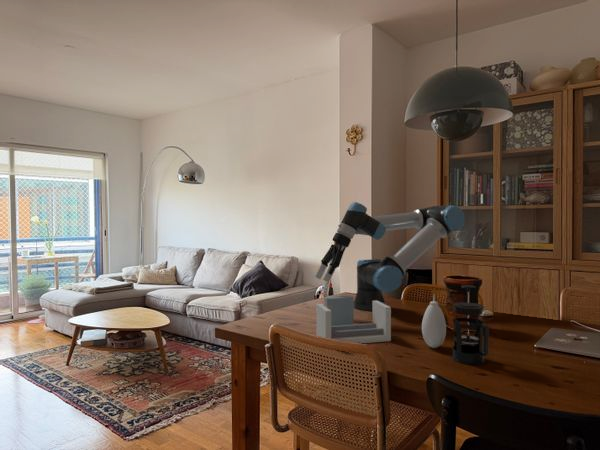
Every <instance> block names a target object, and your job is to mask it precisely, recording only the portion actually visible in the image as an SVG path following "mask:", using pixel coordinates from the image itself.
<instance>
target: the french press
mask: <svg viewBox="0 0 600 450" xmlns="http://www.w3.org/2000/svg"><path fill="white" fill-rule="evenodd" d="M461 287H463V288H467V292H468V303H466V302H461V303H454V304H453V306H454V307H455V308H454V309H455V312H456V313H458V314H462V315H468V318H455V319H453V325H454V330H453V331H454V334H453V335H454V337H453V340H454V344H453V346H452V356H451V359H452V360H453V361H454V362H456V363H458V362H459V364H462V363H463V364H464V365H467V364H469V366H476V365H475V364H479V365H482V364H481V363H483V362H484V361H485V360H486V359H485V357H487V356H489V328H490V327H489V325H485V321H483V320H481V319H479V318H478V319H474V318H469V315H479V316H481V315H483V311H484V309H485V306H484V305H483V304H480V303H478V304H476V303H469V292H470V288H476V287H475V286H472V285H463V286H461ZM459 322H468V325H467V324H461V323H459ZM469 322H473V323H475V325H469ZM462 328H464V329H468V332H467V334H465V335H463V331H462ZM469 329H474V335H470V332H469ZM484 363H485V362H484ZM484 363H483V364H484Z"/></svg>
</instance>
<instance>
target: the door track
mask: <svg viewBox="0 0 600 450" xmlns="http://www.w3.org/2000/svg"><path fill="white" fill-rule="evenodd" d="M315 309H316V314H315V315H316V327H315V328H316V337H317V336H321V337H325V338H330V339H336V340H343V341H351V342H360V343H359V344H369V343H371V344H372V343H381V342H391V341H392V332H391V331H392V323H391V322H392V317H391V315H392V307H391V306H389V305H387V304H386V305H385V304H383V303H381V302H379V301H372V312H371V313H372V317H371V318H372V319H371V320H372V322H369V323H367V322H366V323H354V324H352V325H337V326H331V310H329V309H328V308H327V307H325V305H324V304H323V303H316V307H315Z"/></svg>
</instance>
